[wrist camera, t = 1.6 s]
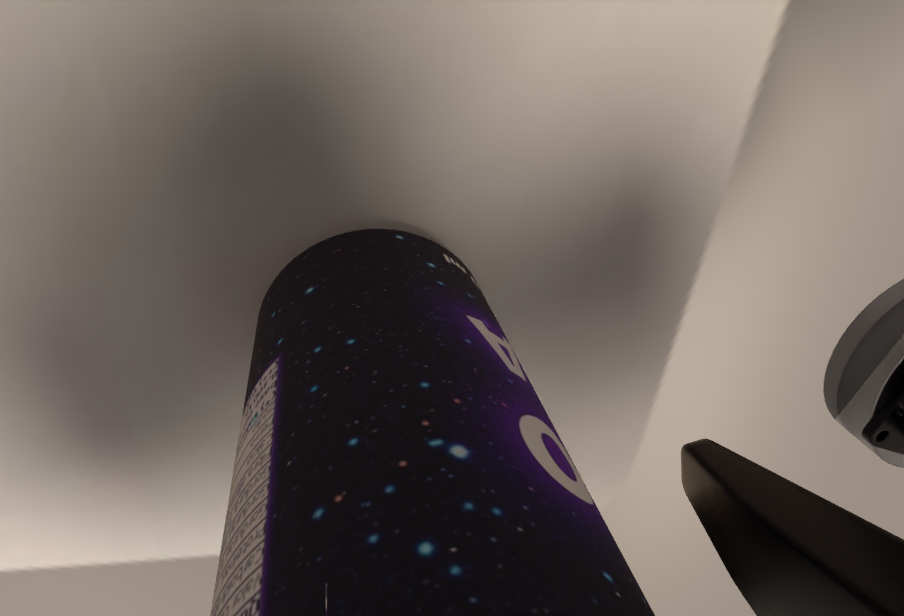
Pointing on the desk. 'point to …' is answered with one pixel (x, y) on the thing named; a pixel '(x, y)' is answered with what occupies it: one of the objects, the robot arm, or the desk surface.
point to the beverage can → (403, 455)
